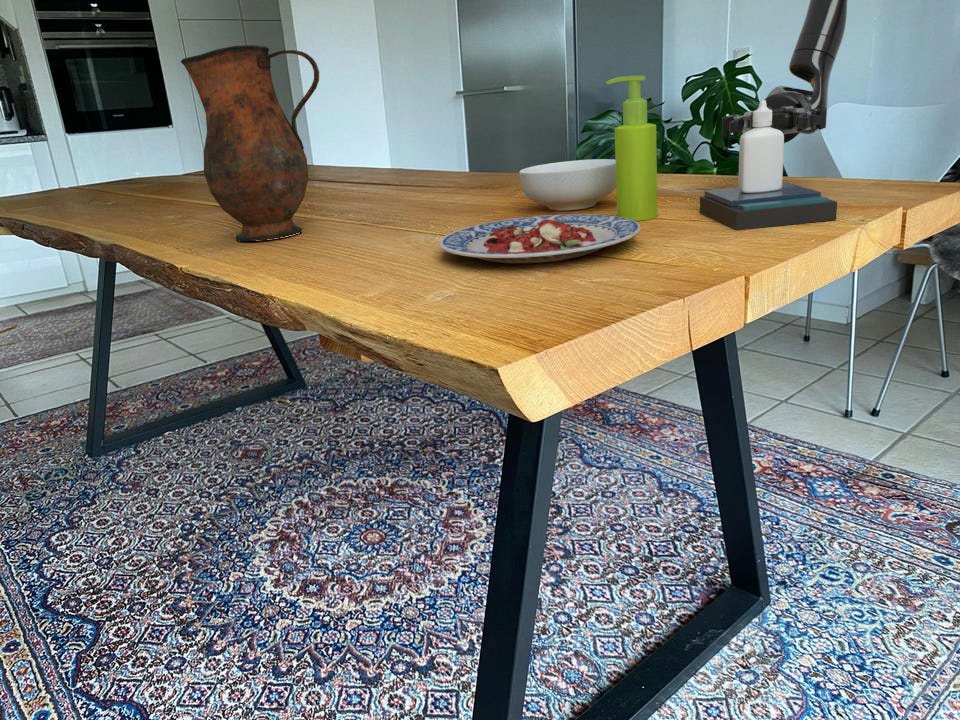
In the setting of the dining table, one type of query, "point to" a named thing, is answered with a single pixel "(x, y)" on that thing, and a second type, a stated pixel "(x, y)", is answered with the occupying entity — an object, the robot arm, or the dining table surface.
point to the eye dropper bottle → (761, 154)
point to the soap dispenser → (635, 156)
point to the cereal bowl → (569, 183)
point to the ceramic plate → (539, 238)
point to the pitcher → (251, 140)
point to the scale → (770, 212)
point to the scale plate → (760, 195)
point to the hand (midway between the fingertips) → (767, 125)
